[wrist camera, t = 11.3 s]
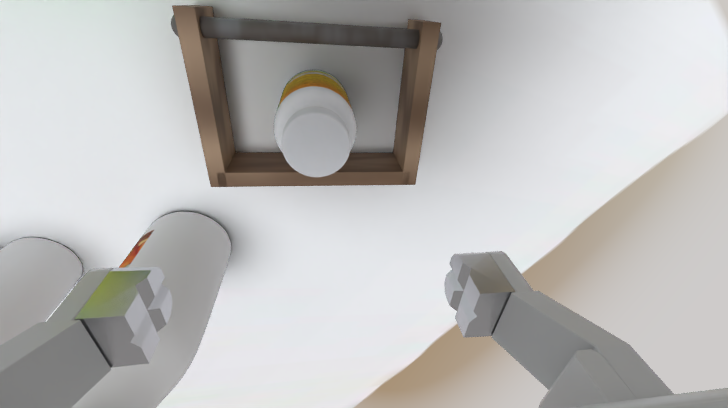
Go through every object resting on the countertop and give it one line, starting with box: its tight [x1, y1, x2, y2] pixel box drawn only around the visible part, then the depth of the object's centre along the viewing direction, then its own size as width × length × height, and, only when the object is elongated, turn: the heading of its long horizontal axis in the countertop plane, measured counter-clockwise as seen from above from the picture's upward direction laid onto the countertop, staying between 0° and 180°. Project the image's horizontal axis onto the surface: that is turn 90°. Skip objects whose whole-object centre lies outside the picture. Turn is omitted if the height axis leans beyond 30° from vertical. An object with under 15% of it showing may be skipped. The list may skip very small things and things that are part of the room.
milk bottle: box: [71, 212, 231, 408], centre depth 24 cm, size 8×8×20 cm
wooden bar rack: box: [171, 5, 442, 187], centre depth 25 cm, size 12×18×4 cm
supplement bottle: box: [274, 70, 357, 177], centre depth 23 cm, size 5×5×10 cm
